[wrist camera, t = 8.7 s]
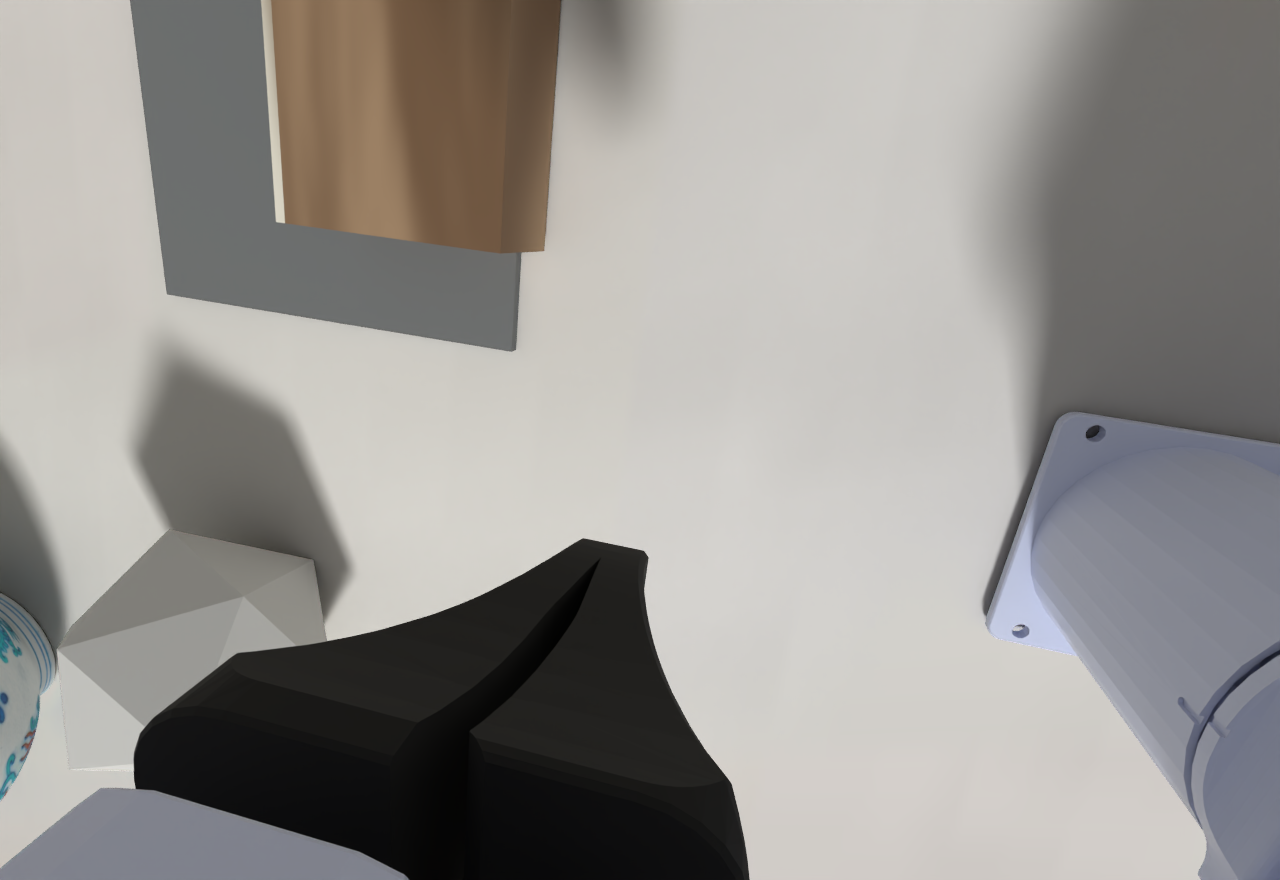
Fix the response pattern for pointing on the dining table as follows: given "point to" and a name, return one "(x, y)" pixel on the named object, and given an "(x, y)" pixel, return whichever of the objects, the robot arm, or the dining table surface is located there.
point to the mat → (245, 207)
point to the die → (175, 636)
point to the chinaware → (20, 686)
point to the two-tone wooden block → (413, 118)
